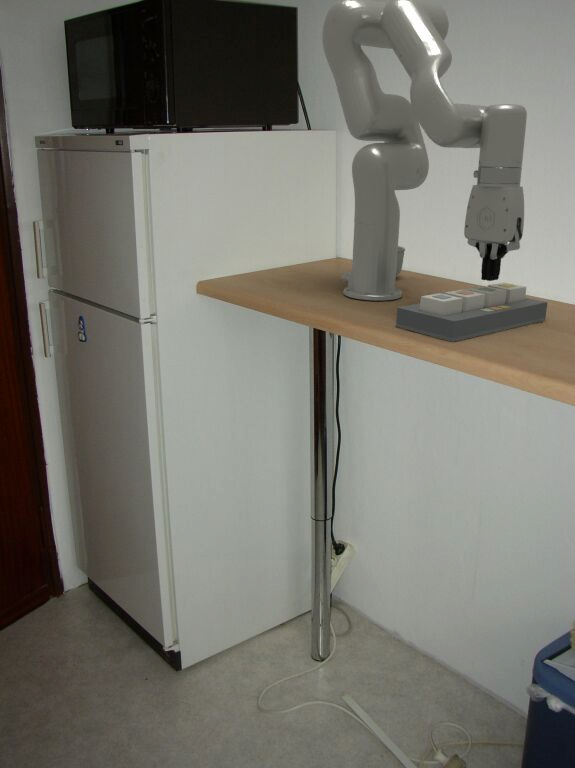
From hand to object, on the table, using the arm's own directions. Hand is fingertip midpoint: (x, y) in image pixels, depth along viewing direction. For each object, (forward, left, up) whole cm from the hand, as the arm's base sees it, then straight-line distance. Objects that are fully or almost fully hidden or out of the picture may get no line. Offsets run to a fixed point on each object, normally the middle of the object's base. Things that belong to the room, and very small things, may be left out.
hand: (489, 279), depth 142 cm
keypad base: (-1, -3, -8) cm, 9 cm away
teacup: (-44, +16, -8) cm, 47 cm away
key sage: (-1, 0, -5) cm, 5 cm away
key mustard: (-1, +7, -5) cm, 8 cm away
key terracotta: (-1, -7, -5) cm, 8 cm away
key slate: (-1, -13, -5) cm, 14 cm away
